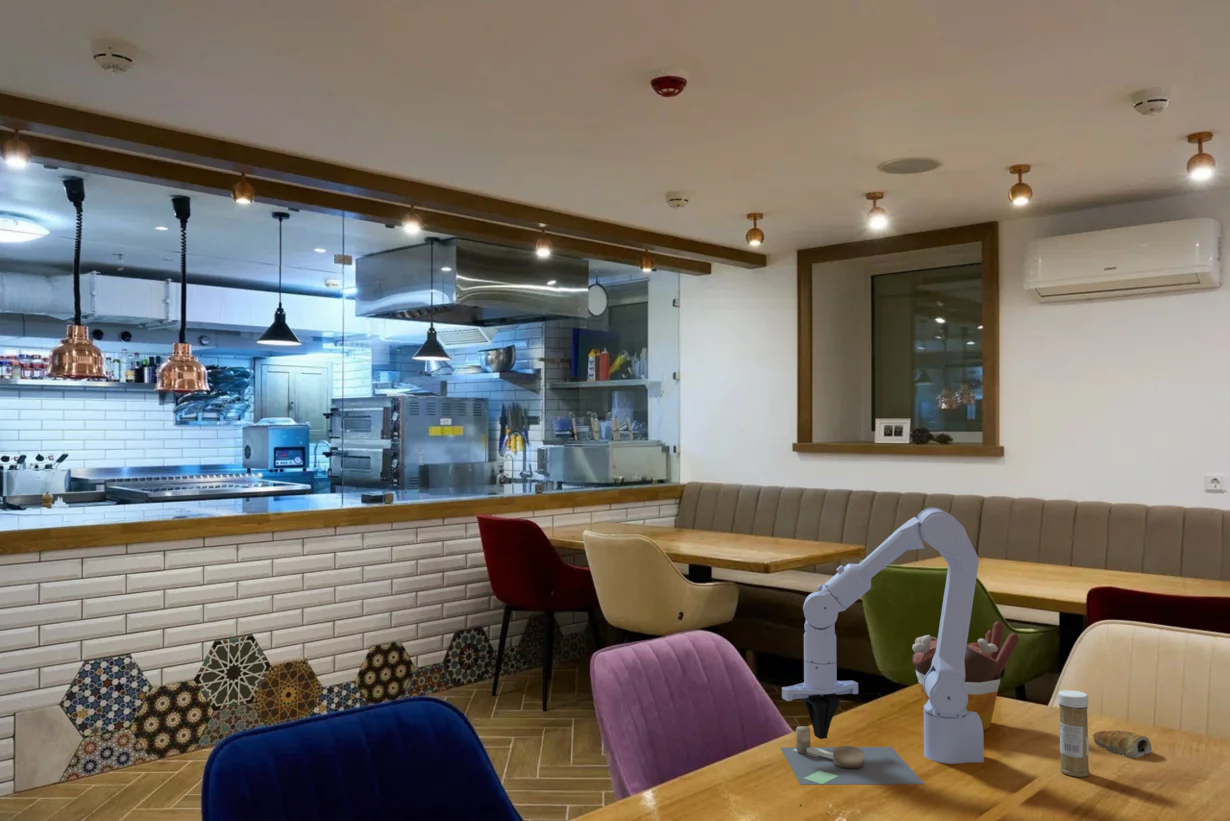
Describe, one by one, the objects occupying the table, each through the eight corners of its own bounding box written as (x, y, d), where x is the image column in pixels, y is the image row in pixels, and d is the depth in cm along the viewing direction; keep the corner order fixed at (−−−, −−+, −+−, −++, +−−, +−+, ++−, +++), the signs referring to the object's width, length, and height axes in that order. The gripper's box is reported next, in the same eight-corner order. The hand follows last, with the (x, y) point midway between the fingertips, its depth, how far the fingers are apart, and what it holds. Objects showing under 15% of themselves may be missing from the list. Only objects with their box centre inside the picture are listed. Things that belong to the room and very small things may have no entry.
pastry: (1084, 746, 175) (1084, 725, 175) (1106, 740, 178) (1106, 720, 178) (1134, 761, 166) (1133, 739, 167) (1156, 755, 170) (1156, 733, 170)
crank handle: (869, 762, 161) (868, 739, 161) (853, 770, 157) (853, 746, 157) (805, 745, 170) (805, 723, 170) (789, 752, 166) (789, 729, 166)
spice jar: (1094, 774, 159) (1093, 693, 160) (1079, 779, 157) (1078, 698, 157) (1069, 766, 163) (1067, 687, 164) (1053, 771, 161) (1052, 691, 161)
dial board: (891, 753, 170) (891, 746, 170) (924, 791, 152) (924, 783, 152) (780, 754, 170) (780, 747, 170) (800, 792, 152) (800, 784, 152)
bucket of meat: (935, 740, 177) (934, 633, 178) (895, 714, 193) (894, 617, 194) (1033, 734, 180) (1031, 629, 181) (985, 710, 197) (984, 614, 197)
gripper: (842, 652, 176) (843, 726, 175) (773, 658, 171) (773, 734, 171) (864, 661, 169) (865, 737, 169) (793, 667, 164) (793, 746, 164)
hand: (820, 737), depth 169 cm, fingers closed
